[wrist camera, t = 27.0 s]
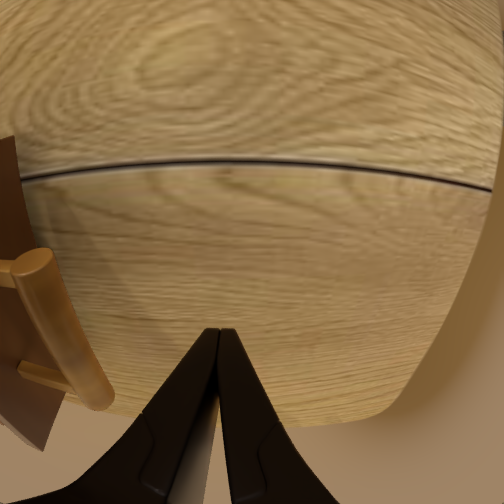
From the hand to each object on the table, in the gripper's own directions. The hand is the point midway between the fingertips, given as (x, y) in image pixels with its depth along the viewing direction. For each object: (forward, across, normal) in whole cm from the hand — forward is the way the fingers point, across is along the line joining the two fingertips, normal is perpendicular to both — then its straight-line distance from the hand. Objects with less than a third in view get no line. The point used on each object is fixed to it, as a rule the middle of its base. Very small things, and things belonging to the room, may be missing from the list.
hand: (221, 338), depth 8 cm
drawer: (+3, +13, 0) cm, 14 cm away
